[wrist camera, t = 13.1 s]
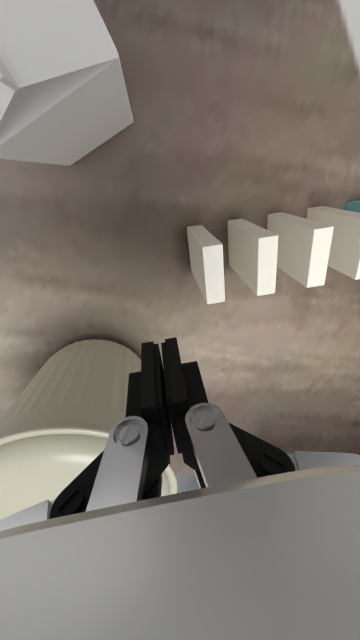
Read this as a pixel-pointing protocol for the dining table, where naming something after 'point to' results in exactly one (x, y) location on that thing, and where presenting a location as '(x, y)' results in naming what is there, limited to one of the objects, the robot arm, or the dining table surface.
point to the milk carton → (58, 81)
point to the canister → (65, 422)
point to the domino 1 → (207, 263)
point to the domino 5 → (353, 206)
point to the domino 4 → (341, 238)
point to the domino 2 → (253, 255)
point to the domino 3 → (301, 247)
